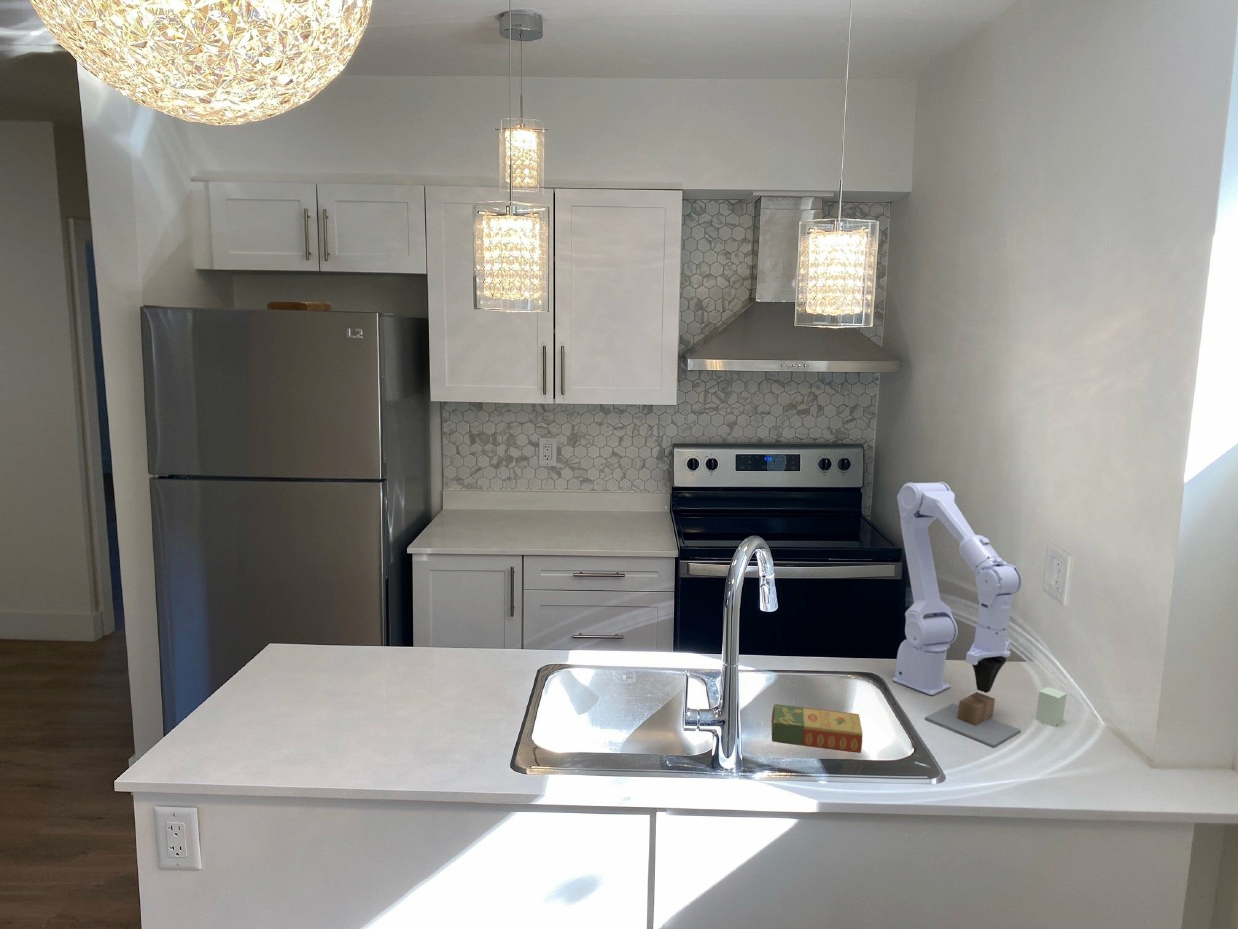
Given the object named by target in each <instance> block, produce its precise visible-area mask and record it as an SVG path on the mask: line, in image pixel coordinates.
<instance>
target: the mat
mask: <svg viewBox="0 0 1238 929" xmlns="http://www.w3.org/2000/svg"><path fill="white" fill-rule="evenodd" d="M958 709H959V704H956V703H951V704H950V705H948V706H945V707H943V708H941V709H939V710H937V711H935V712H933V713H930V714H929V715H926V716H924V720H925V721H927V722H930V723H932V724H935V725H937V726H939V727H943V728H945V729H947V730H949V731H952V732H954V733H957V734H959V735H961V736H963V737H967V738H969V739H971V740H973V741H976V742H979V743H981V744H983V745H985V746H988V747H991V748H994V749H995V748H996V747H997V746H1000V745H1002V744H1003V743H1005V742H1006V741H1008V740H1010V739H1011V738H1013V737H1015V736H1016V735H1018V734H1019V733H1021V730H1022V729H1020V728H1017V727H1015V726H1012V725H1010V724H1007V723H1004V722H1002V721H999V720H997V719H994V718H993V717H991V718H989V719H987V720H986V721H984V722H982V723H980V724H978V725H976V726H975V725H972V724H970V723H967V722H965V721H962V720H960V719H957V716H958Z"/></svg>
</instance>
